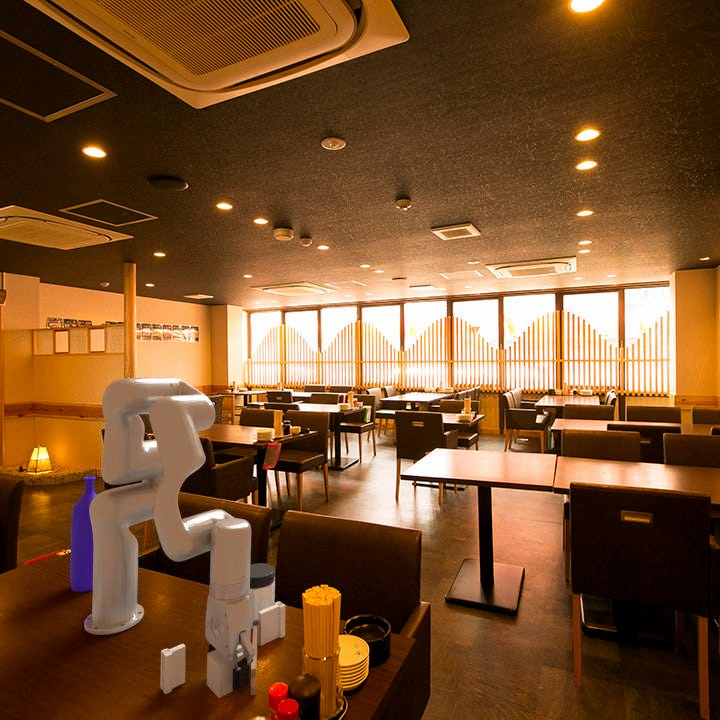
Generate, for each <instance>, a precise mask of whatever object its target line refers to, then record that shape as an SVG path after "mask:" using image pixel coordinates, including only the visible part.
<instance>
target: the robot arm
mask: <svg viewBox="0 0 720 720" xmlns="http://www.w3.org/2000/svg"><path fill="white" fill-rule="evenodd" d="M101 408H102V414H103V415H102V416H103V419H104V437H103V447H102V456H101V469H100V470H101V472H100V473H101V477H102V479H103V481H104V483H106V484H109V485H113V486H119V485H124V486H119V487H113V488H109V489H107V490H105V491H104V490H103V491H102V492H100V493H98V494H97V496H96V497H94V499H93V500H92V502H91V504H90V508H89V513H90V520H91V525H92V531H93V590H92V603H91V604H92V606H91V607H92V609H91V614H89V615H88V616H87V617H86V618H85V620H84V624H83V626H84V630H85V631H86V632H87V633H88V634H91V635H98V636H100V635H101V636H103V635H105V636H107V635H112V634H118V633H120V632H123V631H124V632H125V630H129V629H131V628H132V627H134V626H135V625H137V624H138V623H140V621H141V620H142V619H143V617H144V615H145V609H144V607H143V606H142V605H141V604H139V603H138V579H139V577H138V576H139V575H138V573H139V570H138V569H139V543H138V539H137V538H136V536H135V535H134V534H133V533H132V531H130V529H129V528H130V527H131V526H134V525H136V524H139V523H144V522H145V521H149V520H153V522H154V525H155V528H156V532H157V536H158V539H159V542H160V545H161V549H162V550H163V552H164V553H165V556H167V557H168V558H169V559H170V560H172V561H173V562H183V561H187V560H189V559H192V558H195V557H197V556H199V555H201V554H204V553H206V552H210V562H209V563H210V565H209V566H210V567H209V569H210V570H209V592H208V597H207V603H206V612H205V622H204V623H205V624H204V625H205V627H204V629H205V630H204V636H205V638H206V641H207V643H208V646H207V647H208V648H207V650H208V651H207V652H208V653H210V652H212V651H214V650H216V649H217V650H218V651H219V652H220V653H221V654H222V655H223V656H225V657H226V658H230V657H231V656H232V659H233V662H234V666H235V668H234V669H233V682H232V690H233V691H232V692H237V691H240V690H241V689H243V688H245V687H246V686H248V685H249V683H250V667H251V663H252V662H253V658H254V655H255V649H254V647H253V645H252V644H253V642H251V639H252V637H251V636H252V632H251V631H252V629H251V617H250V603H249V596H248V594H249V593H250V565H251V560H252V559H251V557H252V556H251V554H252V553H251V552H252V550H251V549H252V526H251V523H250V522H249V521H248V520H246V519H243V518H240V517H239V518H238V517H237V518H236V517H234V516H232V515H231V514H230V513H228V512H227V511H225V510H223V509H221V508H220V509H219V508H216V509H211V510H208V511H203V512H201V513H197V514H194V515H191V516H189V517H188V516H187V517H184V518H182V516H181V512H180V508H179V502H178V501H179V493H180V490H181V487H182V485H183V483H184V482H185V480H186V479H187V478H188V477H189V476H190V475H193V473H195V472H196V471H198V470H199V469H201V467H202V466H203V465H204V464H205V463H206V454H205V451H204V449H203V445H202V442H201V440H200V436H199V433H198V432H199V431H205V430H208V429H210V428H211V427H213V425H214V423H215V421H216V409H215V405H214V404H213V402H212V401H211V399H210V397H208V396H207V395H206V394H205V393H204V392H202V391H200V390H199V389H197V388H195V387H194V386H193V385H191V384H190V383H188V382H186V381H185V380H183V379H180V378H177V377H128V378H127V377H126V378H120V379H116V380H114V381H112V382H110V383H109V384H108V385H107V386H106V387H105V389H104V390H103V393H102V398H101ZM140 415H148V419H149V422H150V426H151V430H152V434H153V437H154V439H148V440H145V439H144V438H145V424H144V421H143V419H142V417H141V416H140ZM140 481H142V482H140ZM135 482H138V483H135ZM132 483H133V484H132ZM125 484H127V485H125ZM239 645H241V646H242V648H240V649H238V650H237V647H238V646H239ZM241 652H243V655H244V658H243V659H242V660H241V661H240V662H239V659H238V655H237V654H239V653H241ZM208 653H207V654H208Z"/></svg>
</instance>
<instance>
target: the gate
mask: <svg viewBox="0 0 720 720" xmlns="http://www.w3.org/2000/svg"><path fill="white" fill-rule="evenodd" d="M258 623H259V621H258V620H254V621H253V629H252V645H253V647H254V649H255V655H254V658H253V662H252V663H251V665H250V696H256V693H257V666H258V646H259V644H258Z"/></svg>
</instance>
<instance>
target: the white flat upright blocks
mask: <svg viewBox="0 0 720 720" xmlns="http://www.w3.org/2000/svg"><path fill="white" fill-rule="evenodd" d="M258 621H259V623H258V646H263V645H265V644H268V643H270V642H272V641H274V640H276V639H282V638H284V637H285V636H286V604H284V603H283V602H281V601H276V602H275V605H273V606H271V607H268V608H266V609H264V610H261V611H259V612H258ZM186 649H187V648H186V645H185V644H184V643H181V644H179V645H176V646H174V647H171V648H168V647H167V648H164V649H161V651H160V686H159V687H160V690H162V692H163V693H164V695H167V694H169V693H171V692H172V691H173V689H175V688H176V687H179V686H181V685H184V684H185V683H186V655H187V654H186V653H187V652H186Z"/></svg>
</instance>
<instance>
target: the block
mask: <svg viewBox="0 0 720 720" xmlns="http://www.w3.org/2000/svg"><path fill="white" fill-rule="evenodd" d="M240 648H242V646H241V645H239V646H238V647H237V650H238V649H240ZM206 654H207V655H206V658H207V659H206V686H207V687H208V688H209V689H210V690H211V691H212V692H213V693H214V694H215V696H217V697H218V698H219V699H221V698H223V697H224V696H226V695H228V694H230V693H233V692H234V691H233V690H232V682H233V669H234V668H235V666H234V662H233V659H232V656H231V657H230V658H226V657H225V656H223V655H222V654H221V653H220V652H219V651H218V650H217V649H216V650H214V651H212V652H210V653H206ZM237 655H238V659H239V662H240V661H241V660H242V659H243V658H244V655H243V652H241V653H239V654H237Z"/></svg>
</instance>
